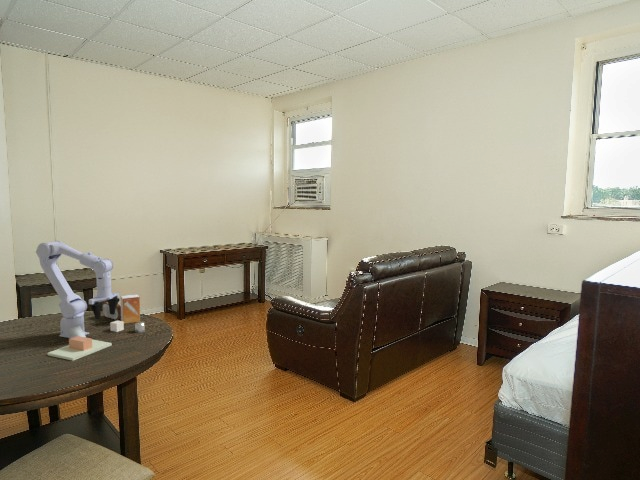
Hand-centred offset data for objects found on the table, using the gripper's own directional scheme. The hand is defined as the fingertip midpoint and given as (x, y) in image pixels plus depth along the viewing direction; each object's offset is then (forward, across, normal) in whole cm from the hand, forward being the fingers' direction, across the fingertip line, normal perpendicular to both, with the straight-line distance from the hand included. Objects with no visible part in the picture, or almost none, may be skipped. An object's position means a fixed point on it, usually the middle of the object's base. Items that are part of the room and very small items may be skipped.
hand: (105, 316), depth 185 cm
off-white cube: (+10, +9, +3) cm, 13 cm away
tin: (+10, +22, +20) cm, 31 cm away
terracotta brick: (+8, -16, -4) cm, 19 cm away
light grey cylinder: (+10, +12, -8) cm, 17 cm away
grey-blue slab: (+7, -8, +8) cm, 14 cm away
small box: (+10, +22, +8) cm, 25 cm away
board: (+9, -16, -4) cm, 19 cm away
